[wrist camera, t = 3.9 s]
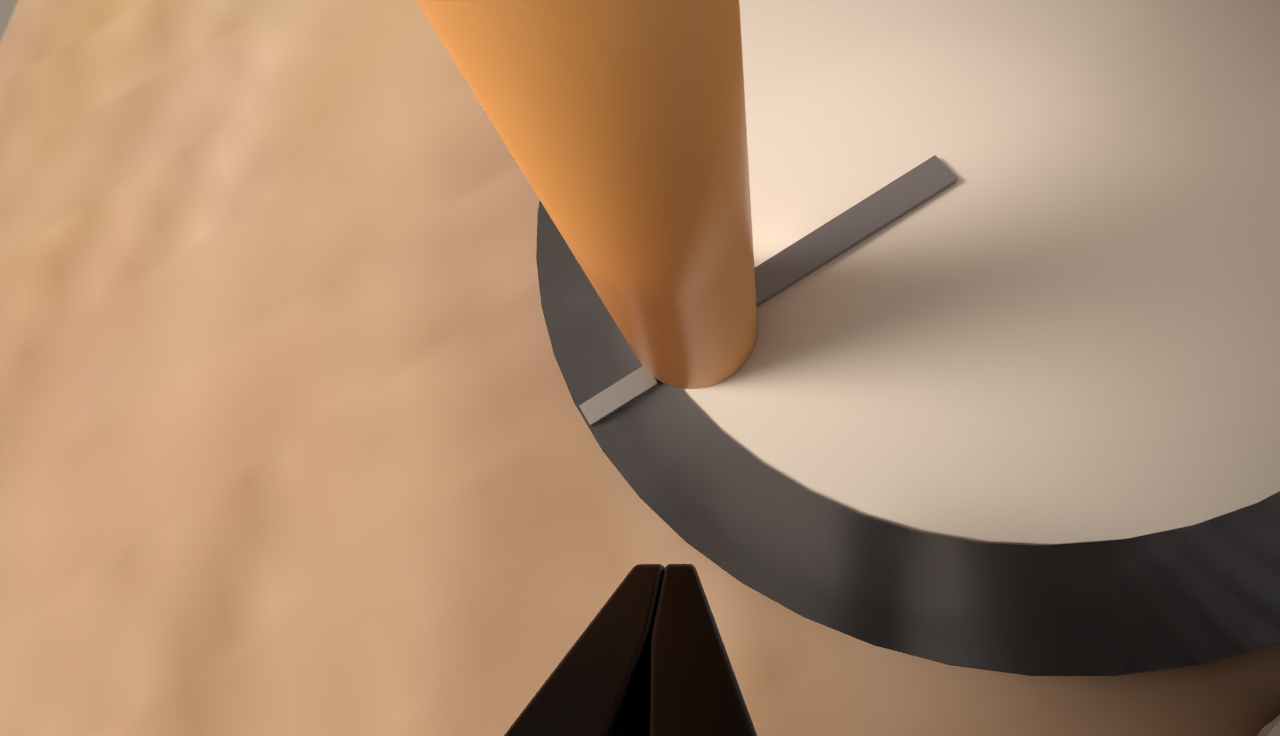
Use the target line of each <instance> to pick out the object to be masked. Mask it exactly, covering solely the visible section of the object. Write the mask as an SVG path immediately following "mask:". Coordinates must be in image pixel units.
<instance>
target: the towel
mask: <svg viewBox="0 0 1280 736" xmlns="http://www.w3.org/2000/svg"><path fill="white" fill-rule="evenodd" d="M1257 736H1280V714H1279V715H1278V716H1277V717H1276V718H1275V719H1274V720H1273V721H1272V722H1270V723H1268V724H1267V725H1265V726H1264V727H1263V728H1262V730H1261V731H1260V732H1259V733H1258V735H1257Z"/></svg>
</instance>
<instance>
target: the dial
mask: <svg viewBox="0 0 1280 736" xmlns="http://www.w3.org/2000/svg"><path fill="white" fill-rule="evenodd" d="M417 1H418V3H419V5H420V6H421V8H422V9H423V11H424V13H425V14H426V16H427V18H428V19H429V21H430V22H431V24H432V26H433V27H434V29H435V31H436V32H437V34H438V35H439V37H440V39H441V40H442V42H443V44H444V45H445V47H446V48H447V50H448V52H449V53H450V55H451V57H452V58H453V60H454V61H455V63H456V65H457V66H458V68H459V69H460V71H461V73H462V74H463V76H464V78H465V79H466V81H467V82H468V84H469V86H470V87H471V89H472V91H473V92H474V94H475V95H476V97H477V99H478V100H479V102H480V104H481V105H482V107H483V108H484V110H485V112H486V113H487V115H488V117H489V118H490V120H491V121H492V123H493V125H494V126H495V128H496V130H497V131H498V133H499V134H500V136H501V138H502V139H503V141H504V143H505V144H506V146H507V147H508V149H509V151H510V152H511V154H512V156H513V157H514V159H515V160H516V162H517V164H518V165H519V167H520V169H521V170H522V172H523V173H524V175H525V177H526V178H527V180H528V182H529V183H530V185H531V186H532V188H533V190H534V191H535V193H536V195H537V196H538V198H539V199H540V201H541V203H542V204H543V206H544V208H545V209H546V211H547V212H548V214H549V216H550V217H551V219H552V221H553V222H554V224H555V225H556V227H557V229H558V230H559V232H560V234H561V235H562V237H563V238H564V240H565V242H566V243H567V245H568V247H569V248H570V250H571V251H572V253H573V255H574V256H575V258H576V260H577V261H578V263H579V264H580V266H581V268H582V269H583V271H584V273H585V274H586V276H587V277H588V279H589V281H590V282H591V284H592V285H593V287H594V289H595V290H596V292H597V294H598V295H599V297H600V298H601V300H602V302H603V303H604V305H605V307H606V308H607V310H608V311H609V313H610V315H611V316H612V318H613V320H614V321H615V323H616V324H617V326H618V328H619V329H620V331H621V333H622V334H623V336H624V337H625V339H626V341H627V342H628V344H629V346H630V347H631V349H632V350H633V352H634V354H635V355H636V357H637V359H638V360H639V362H640V363H641V365H642V366H643V367H644V369H645V370H646V371H647V372H648V373H649V374H651V375H652V376H653V377H654V378H656V379H657V380H659V381H661V382H662V383H665V384H667V385H670V386H673V387H677V388H682V389H683V390H684V391H685V393H686V394H687V395H688V397H689V398H690V399H691V400H692V401H693V402H694V404H695V405H696V406H697V407H698V408H699V409H700V410H701V411H702V412H703V413H704V414H705V415H706V416H707V417H708V418H709V419H710V420H711V421H712V422H713V423H714V424H715V425H716V426H717V427H718V428H719V429H720V430H721V431H722V432H723V433H724V434H725V435H726V436H728V437H729V438H730V439H731V440H733V441H734V442H735V443H737V444H738V445H739V446H740V447H742V448H743V449H744V450H745V451H747V452H748V453H749V454H751V455H752V456H753V457H754V458H756V459H757V460H758V461H760V462H761V463H762V464H763V465H765V466H766V467H768V468H770V469H771V470H773V471H775V472H776V473H778V474H780V475H781V476H783V477H785V478H787V479H788V480H790V481H792V482H793V483H795V484H797V485H798V486H800V487H802V488H803V489H805V490H807V491H808V492H810V493H812V494H814V495H817V496H819V497H821V498H823V499H826V500H828V501H830V502H833V503H835V504H837V505H839V506H842V507H844V508H846V509H849V510H851V511H853V512H855V513H858V514H860V515H862V516H866V517H869V518H872V519H876V520H879V521H882V522H886V523H889V524H892V525H895V526H899V527H902V528H905V529H909V530H912V531H915V532H919V533H925V534H931V535H936V536H942V537H948V538H954V539H959V540H965V541H971V542H977V543H994V544H1014V545H1033V546H1044V545H1058V544H1071V543H1085V542H1098V541H1109V540H1118V539H1128V538H1133V537H1137V536H1142V535H1147V534H1152V533H1157V532H1162V531H1167V530H1172V529H1177V528H1181V527H1186V526H1191V525H1195V524H1198V523H1201V522H1204V521H1207V520H1210V519H1212V518H1215V517H1218V516H1221V515H1224V514H1227V513H1230V512H1232V511H1235V510H1238V509H1241V508H1244V507H1247V506H1250V505H1252V504H1255V503H1258V502H1260V501H1262V500H1264V499H1266V498H1267V497H1269V496H1271V495H1273V494H1275V493H1277V492H1279V491H1280V0H417Z"/></svg>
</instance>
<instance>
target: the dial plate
mask: <svg viewBox="0 0 1280 736" xmlns="http://www.w3.org/2000/svg"><path fill="white" fill-rule="evenodd" d="M536 259H537V268H538V277H539V286H540V295H541V304H542V309H543V313H544V317H545V321H546V325H547V328H548V332H549V336H550V340H551V344H552V348H553V352H554V355H555V357H556V360H557V362H558V365H559V367H560V369H561V372H562V374H563V377H564V379H565V381H566V384H567V386H568V389H569V391H570V393H571V396H572V398H573V401H574V403H575V405H576V406H577V408H578V410H579V411H580V413H581V415H582V417H583V418H584V420H585V422H586V423H587V425H588V427H589V428H590V430H591V432H592V433H593V435H594V437H595V438H596V440H597V442H598V444H599V445H600V447H601V449H602V450H603V452H604V453H605V454H606V456H607V457H608V458H609V459H610V461H611V462H612V463H613V464H614V466H615V467H616V468H617V469H618V471H619V472H620V473H621V474H622V476H623V477H624V478H625V479H626V481H627V482H628V483H629V484H630V486H631V487H632V488H633V489H634V491H635V492H636V493H637V494H638V496H639V497H640V498H641V499H642V500H643V501H644V502H645V503H646V504H647V505H648V506H649V507H650V508H651V509H652V510H653V511H654V512H655V513H656V514H658V515H659V516H660V517H661V518H662V519H663V520H664V521H665V522H666V523H667V524H668V525H669V526H670V527H671V528H672V529H673V530H674V531H675V532H676V533H677V534H678V535H679V536H680V537H681V538H683V539H684V540H685V541H686V542H687V543H688V544H690V545H691V546H692V547H694V548H695V549H696V550H698V551H699V552H701V553H702V554H703V555H705V556H706V557H707V558H709V559H710V560H711V561H713V562H714V563H715V564H717V565H718V566H720V567H721V568H722V569H724V570H725V571H726V572H728V573H729V574H730V575H732V576H733V577H734V578H736V579H737V580H739V581H740V582H742V583H743V584H745V585H747V586H749V587H751V588H752V589H754V590H756V591H758V592H760V593H761V594H763V595H765V596H767V597H769V598H770V599H772V600H774V601H776V602H778V603H779V604H781V605H783V606H785V607H787V608H788V609H790V610H792V611H794V612H795V613H797V614H799V615H801V616H803V617H805V618H808V619H810V620H812V621H815V622H817V623H820V624H822V625H825V626H827V627H830V628H832V629H835V630H837V631H840V632H842V633H845V634H847V635H850V636H852V637H855V638H857V639H860V640H862V641H865V642H867V643H870V644H872V645H875V646H879V647H883V648H887V649H891V650H895V651H898V652H902V653H906V654H910V655H914V656H917V657H921V658H925V659H929V660H933V661H936V662H940V663H944V664H948V665H953V666H961V667H969V668H976V669H984V670H991V671H999V672H1007V673H1014V674H1022V675H1030V676H1117V675H1125V674H1132V673H1140V672H1147V671H1155V670H1163V669H1170V668H1178V667H1185V666H1193V665H1199V664H1203V663H1206V662H1210V661H1213V660H1217V659H1221V658H1224V657H1228V656H1231V655H1235V654H1238V653H1242V652H1246V651H1249V650H1253V649H1256V648H1260V647H1263V646H1267V645H1271V644H1274V643H1278V642H1280V491H1279V492H1277V493H1275V494H1273V495H1271V496H1269V497H1267V498H1266V499H1264V500H1262V501H1260V502H1258V503H1255V504H1252V505H1250V506H1247V507H1244V508H1241V509H1238V510H1235V511H1232V512H1230V513H1227V514H1224V515H1221V516H1218V517H1215V518H1212V519H1210V520H1207V521H1204V522H1201V523H1198V524H1195V525H1191V526H1186V527H1181V528H1177V529H1172V530H1167V531H1162V532H1157V533H1152V534H1147V535H1142V536H1137V537H1133V538H1128V539H1118V540H1109V541H1098V542H1085V543H1071V544H1058V545H1044V546H1033V545H1014V544H994V543H977V542H971V541H965V540H959V539H954V538H948V537H942V536H936V535H931V534H925V533H919V532H915V531H912V530H909V529H905V528H902V527H899V526H895V525H892V524H889V523H886V522H882V521H879V520H876V519H872V518H869V517H866V516H862V515H860V514H858V513H855V512H853V511H851V510H849V509H846V508H844V507H842V506H839V505H837V504H835V503H833V502H830V501H828V500H826V499H823V498H821V497H819V496H817V495H814V494H812V493H810V492H808V491H807V490H805V489H803V488H802V487H800V486H798V485H797V484H795V483H793V482H792V481H790V480H788V479H787V478H785V477H783V476H781V475H780V474H778V473H776V472H775V471H773V470H771V469H770V468H768V467H766V466H765V465H763V464H762V463H761V462H760V461H758V460H757V459H756V458H754V457H753V456H752V455H751V454H749V453H748V452H747V451H745V450H744V449H743V448H742V447H740V446H739V445H738V444H737V443H735V442H734V441H733V440H731V439H730V438H729V437H728V436H726V435H725V434H724V433H723V432H722V431H721V430H720V429H719V428H718V427H717V426H716V425H715V424H714V423H713V422H712V421H711V420H710V419H709V418H708V417H707V416H706V415H705V414H704V413H703V412H702V411H701V410H700V409H699V408H698V407H697V406H696V405H695V404H694V402H693V401H692V400H691V399H690V398H689V397H688V395H687V394H686V393H685V391H684V390H683V389H682V388H677V387H673V386H670V385H667V384H665V383H662V382H661V381H659V380H657V379H656V378H654V377H653V376H652V375H651V374H649V373H648V372H647V371H646V370H645V369H644V367H643V366H642V365H641V363H640V362H639V360H638V359H637V357H636V355H635V354H634V352H633V350H632V349H631V347H630V346H629V344H628V342H627V341H626V339H625V337H624V336H623V334H622V333H621V331H620V329H619V328H618V326H617V324H616V323H615V321H614V320H613V318H612V316H611V315H610V313H609V311H608V310H607V308H606V307H605V305H604V303H603V302H602V300H601V298H600V297H599V295H598V294H597V292H596V290H595V289H594V287H593V285H592V284H591V282H590V281H589V279H588V277H587V276H586V274H585V273H584V271H583V269H582V268H581V266H580V264H579V263H578V261H577V260H576V258H575V256H574V255H573V253H572V251H571V250H570V248H569V247H568V245H567V243H566V242H565V240H564V238H563V237H562V235H561V234H560V232H559V230H558V229H557V227H556V225H555V224H554V222H553V221H552V219H551V217H550V216H549V214H548V212H547V211H546V209H545V208H544V206H543V204H542V203H541V201H540V203H539V209H538V225H537V257H536Z"/></svg>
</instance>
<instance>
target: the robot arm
mask: <svg viewBox="0 0 1280 736" xmlns="http://www.w3.org/2000/svg"><path fill="white" fill-rule="evenodd" d="M504 736H757V734H756V732H755V729H754V726H753V723H752V721H751V718H750V715H749V713H748V710H747V707H746V704H745V702H744V699H743V696H742V693H741V691H740V688H739V685H738V683H737V680H736V677H735V674H734V672H733V669H732V666H731V663H730V661H729V658H728V655H727V652H726V650H725V647H724V644H723V642H722V639H721V636H720V633H719V631H718V628H717V625H716V622H715V620H714V617H713V614H712V612H711V609H710V606H709V603H708V601H707V598H706V595H705V592H704V590H703V587H702V584H701V582H700V579H699V576H698V573H697V571H696V568H695V567H694V566H693V565H692V564H669V565H667V566H666V567H665V568H664V566H662V565H660V564H639V565H636V566H635V567H633V569H632V570H631V571H630V572H629V574H628V575H627V576H626V578H625V579H624V580H623V582H622V583H621V584H620V585H619V587H618V588H617V589H616V591H615V592H614V593H613V595H612V596H611V597H610V598H609V600H608V601H607V602H606V604H605V605H604V606H603V608H602V609H601V610H600V611H599V613H598V614H597V615H596V617H595V618H594V619H593V621H592V622H591V623H590V624H589V626H588V627H587V628H586V630H585V631H584V632H583V634H582V635H581V636H580V637H579V639H578V640H577V641H576V643H575V644H574V645H573V647H572V648H571V649H570V650H569V652H568V653H567V654H566V656H565V657H564V658H563V660H562V661H561V662H560V663H559V665H558V666H557V667H556V669H555V670H554V671H553V673H552V674H551V675H550V677H549V678H548V679H547V680H546V682H545V683H544V684H543V686H542V687H541V688H540V690H539V691H538V692H537V693H536V695H535V696H534V697H533V699H532V700H531V701H530V703H529V704H528V705H527V706H526V708H525V709H524V710H523V712H522V713H521V714H520V716H519V717H518V718H517V719H516V721H515V722H514V723H513V725H512V726H511V727H510V729H509V730H508V731H507V732H506V734H505V735H504Z"/></svg>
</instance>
